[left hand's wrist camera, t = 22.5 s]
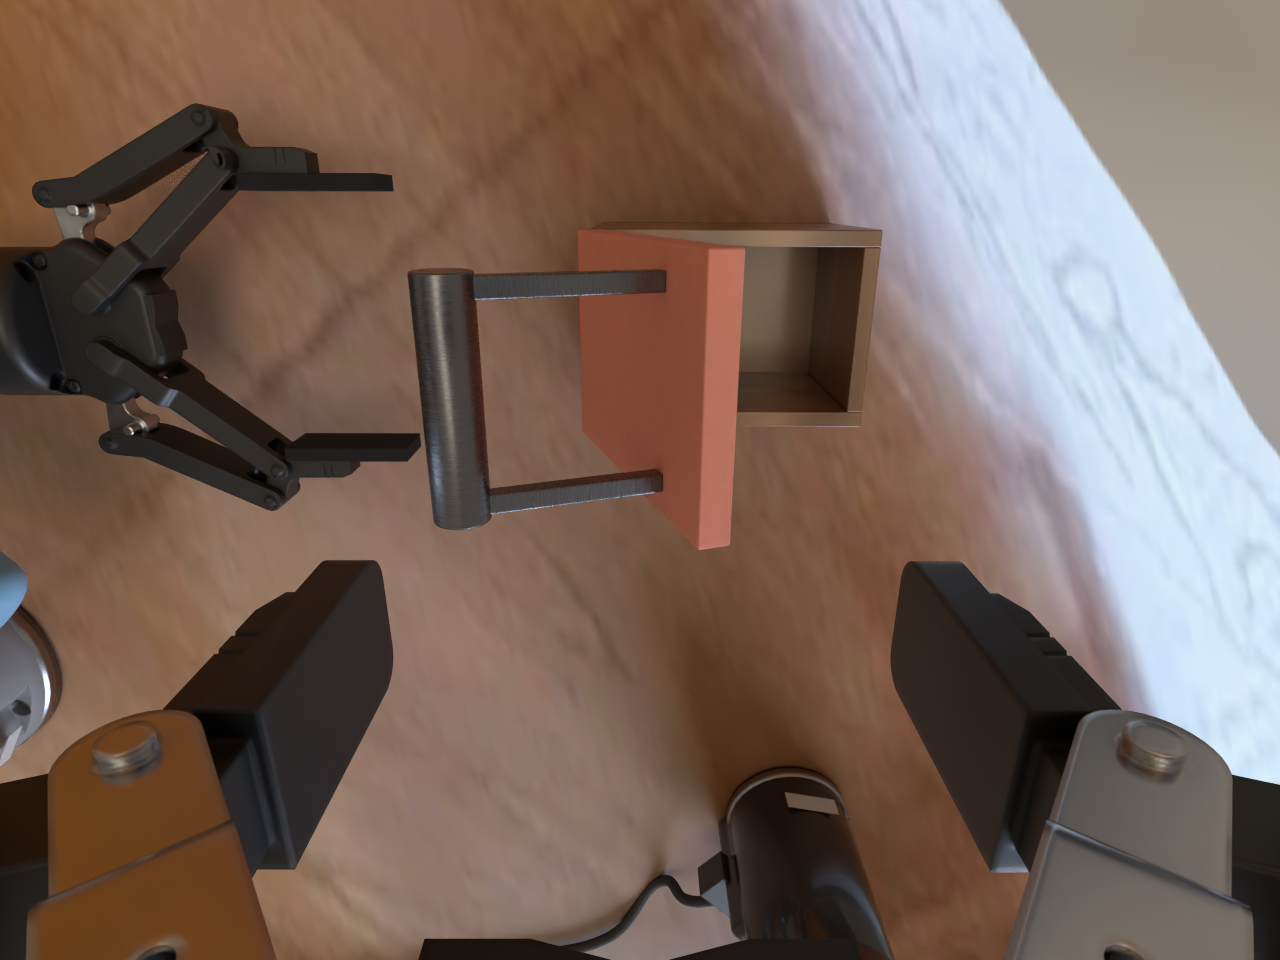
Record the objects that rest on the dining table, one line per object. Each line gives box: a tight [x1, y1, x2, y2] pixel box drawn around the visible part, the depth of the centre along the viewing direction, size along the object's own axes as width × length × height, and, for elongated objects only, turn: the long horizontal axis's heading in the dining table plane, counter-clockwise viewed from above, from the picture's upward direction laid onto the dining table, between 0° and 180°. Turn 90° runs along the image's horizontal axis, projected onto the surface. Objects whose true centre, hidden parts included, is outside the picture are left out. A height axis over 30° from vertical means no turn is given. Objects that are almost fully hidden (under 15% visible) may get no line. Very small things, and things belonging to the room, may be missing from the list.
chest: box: [592, 222, 882, 427], centre depth 40 cm, size 14×9×10 cm
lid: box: [408, 229, 745, 550], centre depth 27 cm, size 14×9×9 cm
